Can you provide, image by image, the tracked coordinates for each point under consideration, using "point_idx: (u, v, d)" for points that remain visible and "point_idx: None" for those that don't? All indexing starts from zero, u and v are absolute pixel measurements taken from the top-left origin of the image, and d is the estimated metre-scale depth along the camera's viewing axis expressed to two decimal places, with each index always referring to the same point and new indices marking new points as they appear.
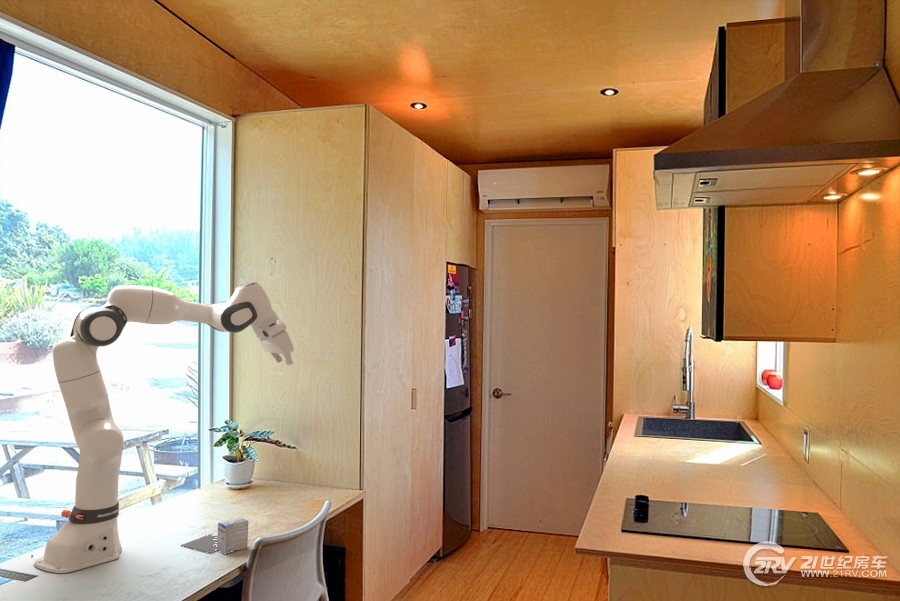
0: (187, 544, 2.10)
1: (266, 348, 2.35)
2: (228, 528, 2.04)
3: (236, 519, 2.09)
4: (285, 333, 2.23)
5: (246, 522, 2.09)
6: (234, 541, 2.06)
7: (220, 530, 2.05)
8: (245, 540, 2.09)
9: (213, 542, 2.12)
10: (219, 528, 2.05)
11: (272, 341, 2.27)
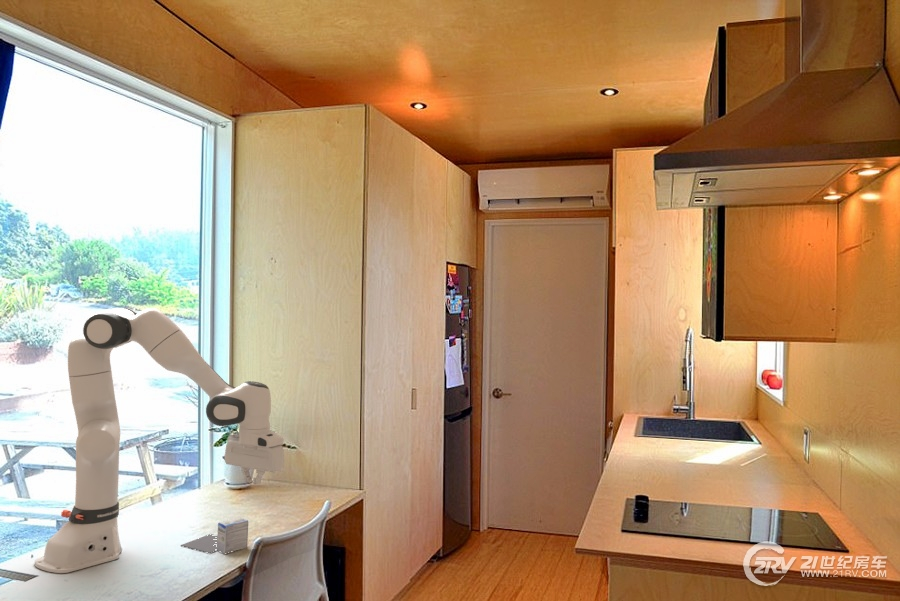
0: (187, 544, 2.10)
1: (234, 460, 2.06)
2: (228, 528, 2.04)
3: (236, 519, 2.09)
4: (281, 448, 2.02)
5: (246, 522, 2.09)
6: (234, 541, 2.06)
7: (220, 530, 2.05)
8: (245, 540, 2.09)
9: (213, 542, 2.12)
10: (219, 528, 2.05)
11: (258, 453, 2.02)
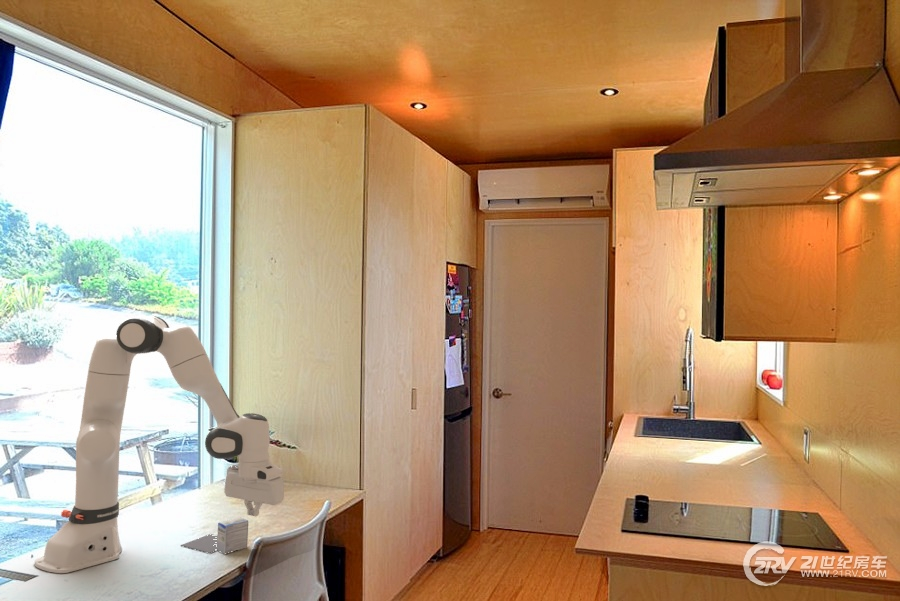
0: (187, 544, 2.10)
1: (234, 493, 2.06)
2: (228, 528, 2.04)
3: (236, 519, 2.09)
4: (281, 480, 2.02)
5: (246, 522, 2.09)
6: (234, 541, 2.06)
7: (220, 530, 2.05)
8: (245, 540, 2.09)
9: (213, 542, 2.12)
10: (219, 528, 2.05)
11: (258, 486, 2.02)
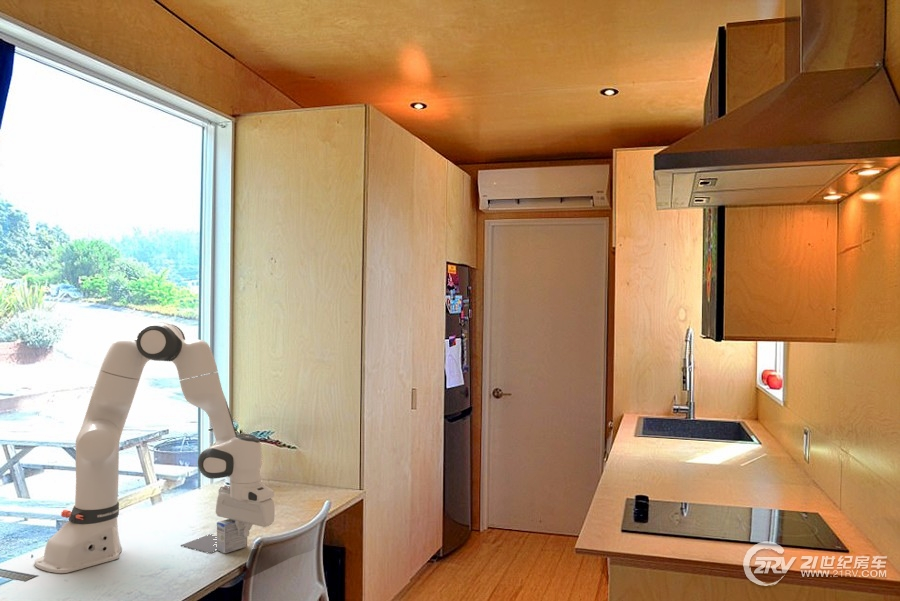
0: (187, 544, 2.10)
1: (225, 513, 2.07)
2: (227, 526, 2.04)
3: None
4: (272, 502, 2.03)
5: None
6: (233, 540, 2.06)
7: (220, 529, 2.05)
8: (245, 539, 2.09)
9: (213, 542, 2.12)
10: (218, 527, 2.06)
11: (249, 507, 2.03)
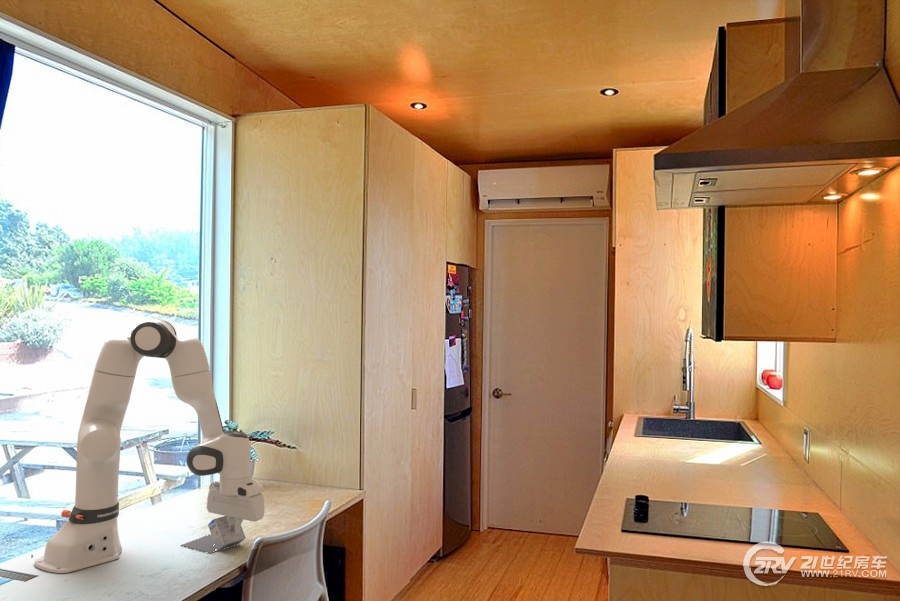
0: (187, 544, 2.10)
1: (216, 509, 2.09)
2: (218, 520, 2.08)
3: None
4: (262, 497, 2.05)
5: None
6: (229, 532, 2.08)
7: (212, 527, 2.08)
8: (240, 531, 2.11)
9: (213, 542, 2.12)
10: (210, 527, 2.08)
11: (239, 502, 2.05)
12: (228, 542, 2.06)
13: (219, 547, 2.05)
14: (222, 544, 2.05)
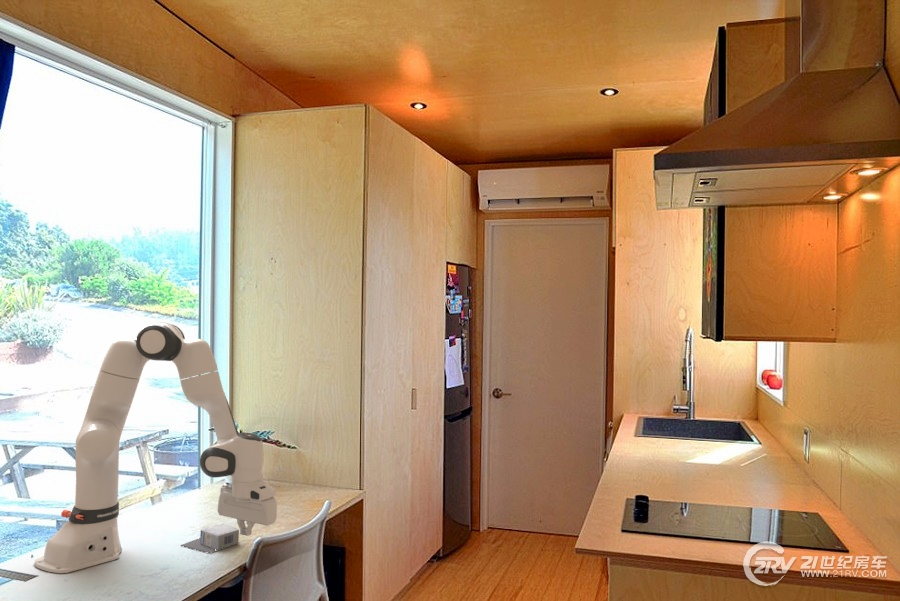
0: (187, 544, 2.10)
1: (227, 512, 2.07)
2: (204, 529, 2.11)
3: None
4: (274, 501, 2.03)
5: (220, 524, 2.16)
6: (219, 530, 2.10)
7: (204, 539, 2.10)
8: (231, 528, 2.13)
9: None
10: (203, 541, 2.10)
11: (251, 506, 2.03)
12: (222, 534, 2.07)
13: (217, 544, 2.06)
14: (217, 538, 2.06)
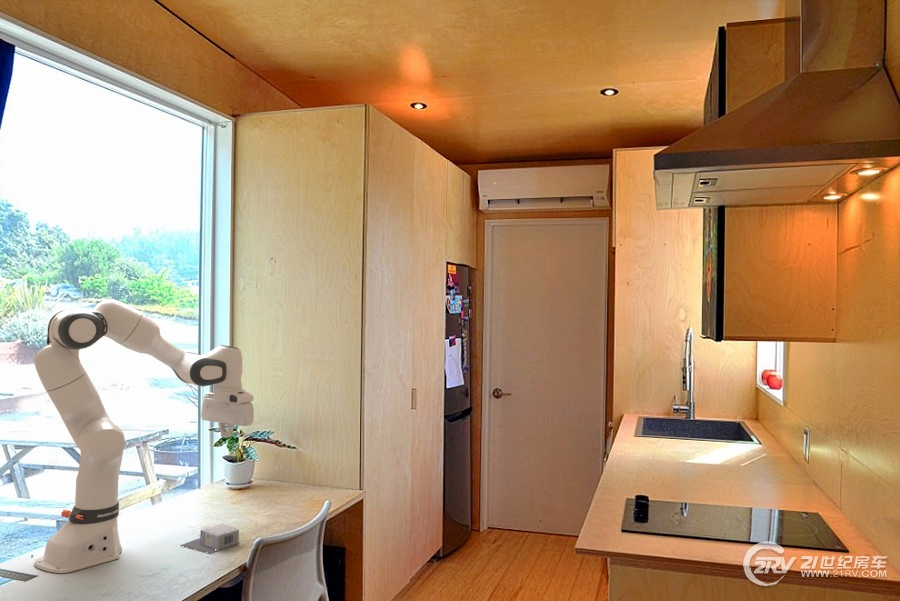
0: (187, 544, 2.10)
1: (209, 416, 2.27)
2: (204, 529, 2.11)
3: None
4: (251, 405, 2.23)
5: (220, 524, 2.16)
6: (219, 530, 2.10)
7: (204, 539, 2.10)
8: (231, 528, 2.13)
9: None
10: (203, 541, 2.10)
11: (230, 409, 2.23)
12: (222, 534, 2.07)
13: (217, 544, 2.06)
14: (217, 538, 2.06)
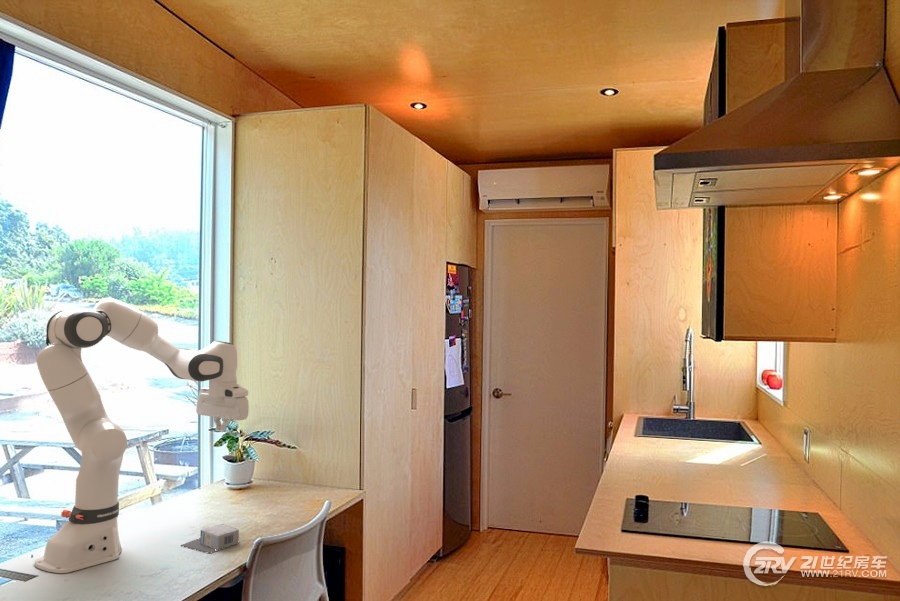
0: (187, 544, 2.10)
1: (205, 411, 2.31)
2: (204, 529, 2.11)
3: None
4: (246, 399, 2.28)
5: (220, 524, 2.16)
6: (219, 530, 2.10)
7: (204, 539, 2.10)
8: (231, 528, 2.13)
9: None
10: (203, 541, 2.10)
11: (225, 404, 2.28)
12: (222, 534, 2.07)
13: (217, 544, 2.06)
14: (217, 538, 2.06)
